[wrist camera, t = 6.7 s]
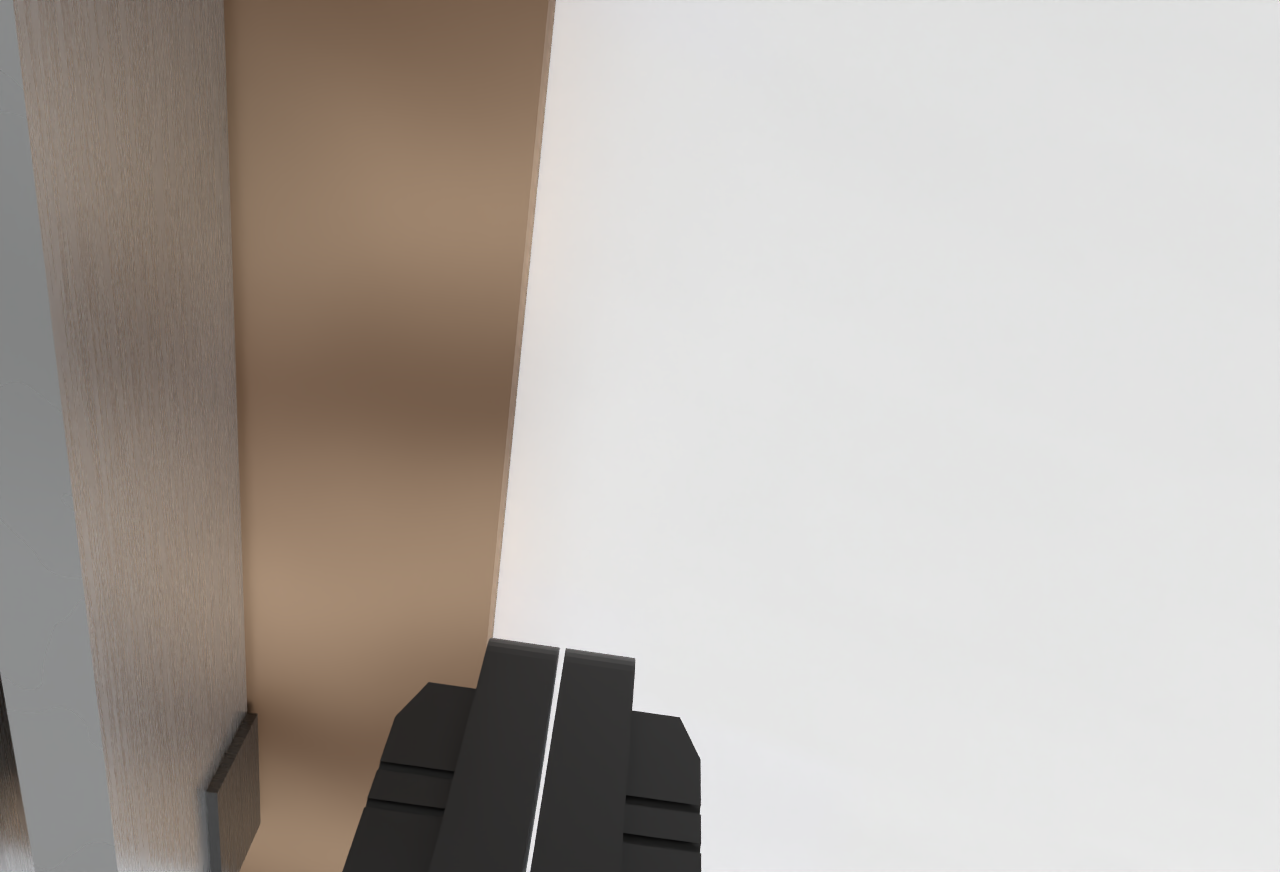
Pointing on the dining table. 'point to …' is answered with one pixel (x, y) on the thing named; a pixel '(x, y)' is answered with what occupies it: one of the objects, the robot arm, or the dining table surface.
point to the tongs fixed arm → (11, 805)
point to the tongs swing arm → (121, 440)
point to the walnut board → (372, 369)
